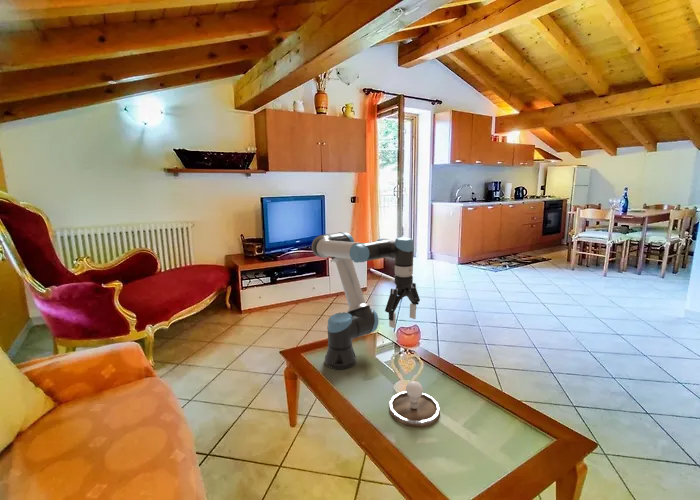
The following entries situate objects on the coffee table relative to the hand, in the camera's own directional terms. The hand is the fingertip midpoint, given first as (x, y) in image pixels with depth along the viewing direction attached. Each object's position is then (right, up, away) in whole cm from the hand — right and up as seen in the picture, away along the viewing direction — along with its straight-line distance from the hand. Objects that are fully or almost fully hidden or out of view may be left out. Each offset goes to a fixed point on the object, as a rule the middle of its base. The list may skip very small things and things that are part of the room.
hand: (402, 322), depth 152 cm
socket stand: (+2, -30, -15) cm, 34 cm away
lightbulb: (+2, -30, -16) cm, 34 cm away
